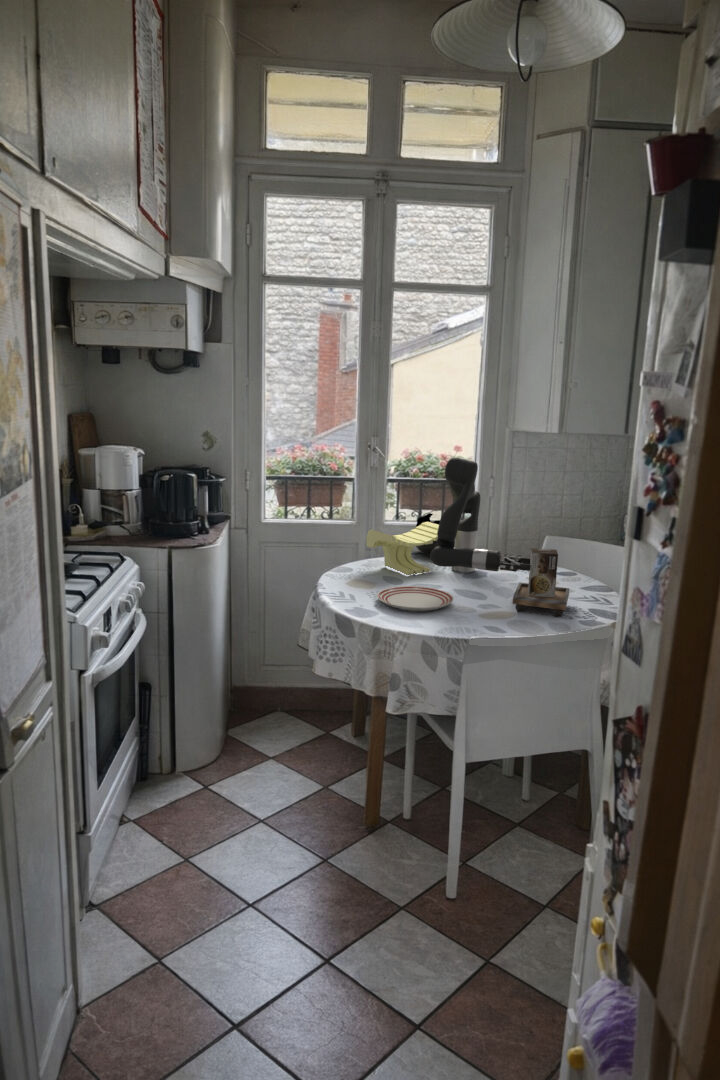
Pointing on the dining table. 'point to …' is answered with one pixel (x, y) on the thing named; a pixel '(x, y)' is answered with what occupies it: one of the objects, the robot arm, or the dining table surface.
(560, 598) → the caster dolly
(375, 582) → the dining table surface
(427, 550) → the coal bowl
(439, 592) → the dinner plate
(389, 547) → the slatted curved stool
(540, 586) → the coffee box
